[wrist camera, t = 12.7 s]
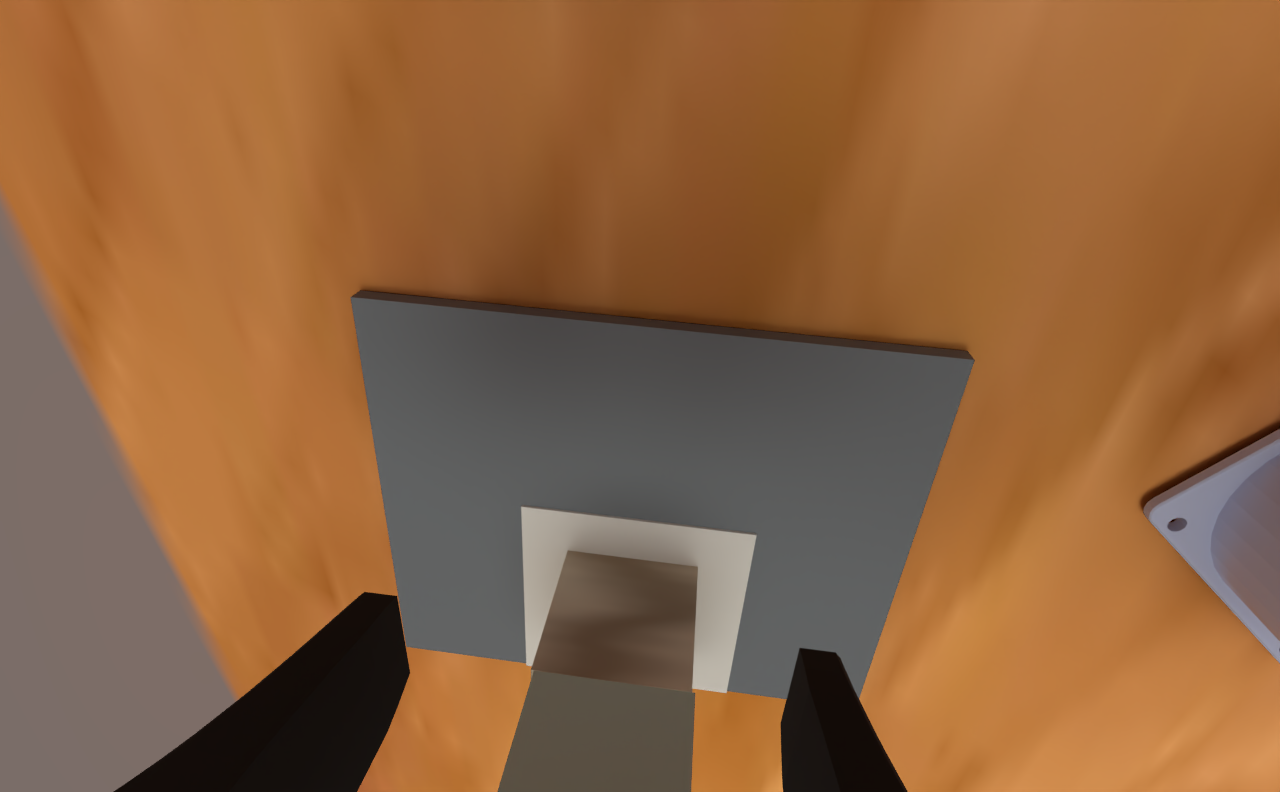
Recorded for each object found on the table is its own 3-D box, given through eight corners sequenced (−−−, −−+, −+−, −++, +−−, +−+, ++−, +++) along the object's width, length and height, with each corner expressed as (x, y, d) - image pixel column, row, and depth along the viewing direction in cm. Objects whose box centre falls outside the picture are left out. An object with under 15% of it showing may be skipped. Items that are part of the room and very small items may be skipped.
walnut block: (698, 567, 23) (692, 692, 18) (685, 657, 25) (677, 788, 20) (567, 550, 23) (530, 669, 19) (566, 640, 25) (533, 766, 21)
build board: (967, 351, 19) (975, 361, 18) (852, 695, 26) (855, 710, 25) (360, 290, 20) (348, 298, 19) (412, 635, 27) (405, 648, 26)
